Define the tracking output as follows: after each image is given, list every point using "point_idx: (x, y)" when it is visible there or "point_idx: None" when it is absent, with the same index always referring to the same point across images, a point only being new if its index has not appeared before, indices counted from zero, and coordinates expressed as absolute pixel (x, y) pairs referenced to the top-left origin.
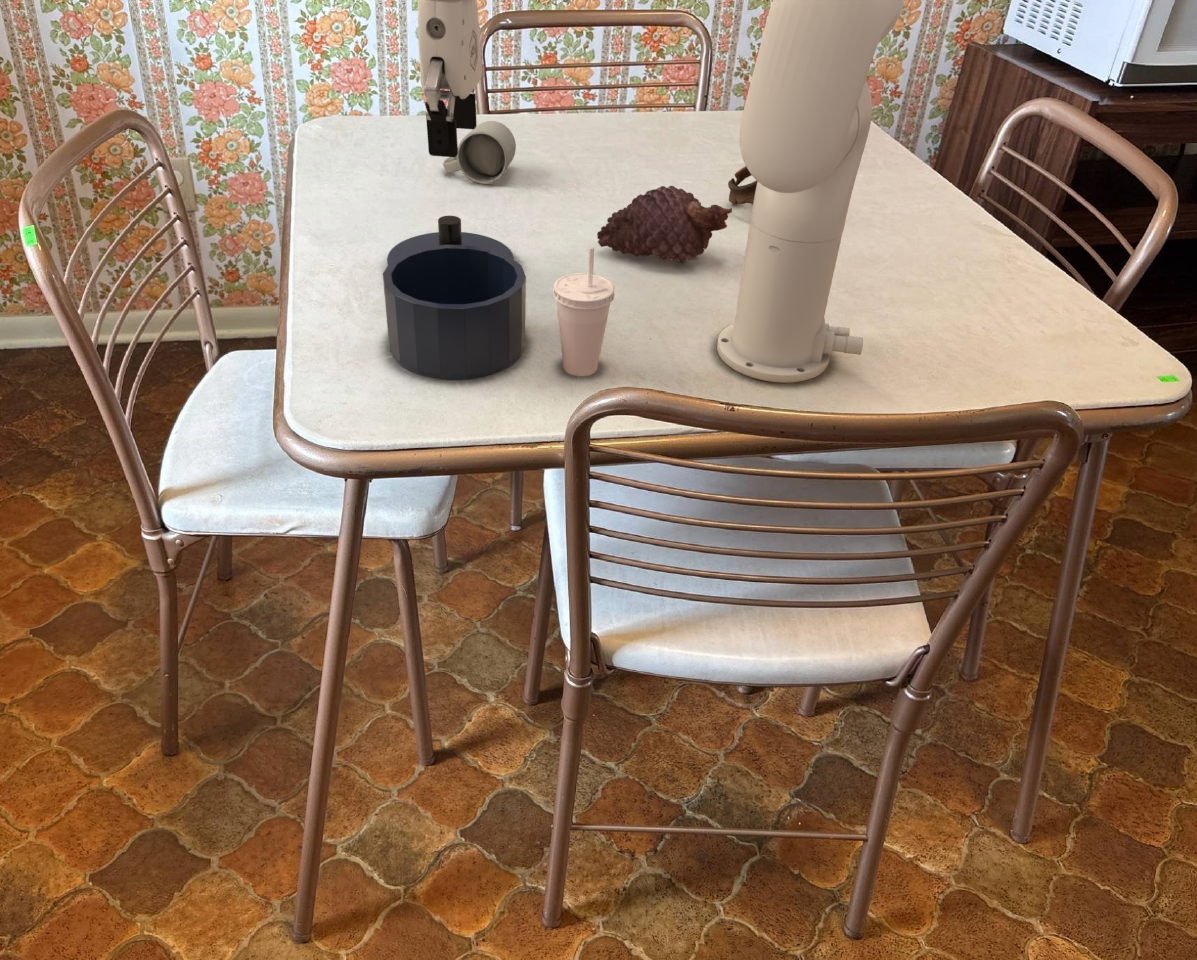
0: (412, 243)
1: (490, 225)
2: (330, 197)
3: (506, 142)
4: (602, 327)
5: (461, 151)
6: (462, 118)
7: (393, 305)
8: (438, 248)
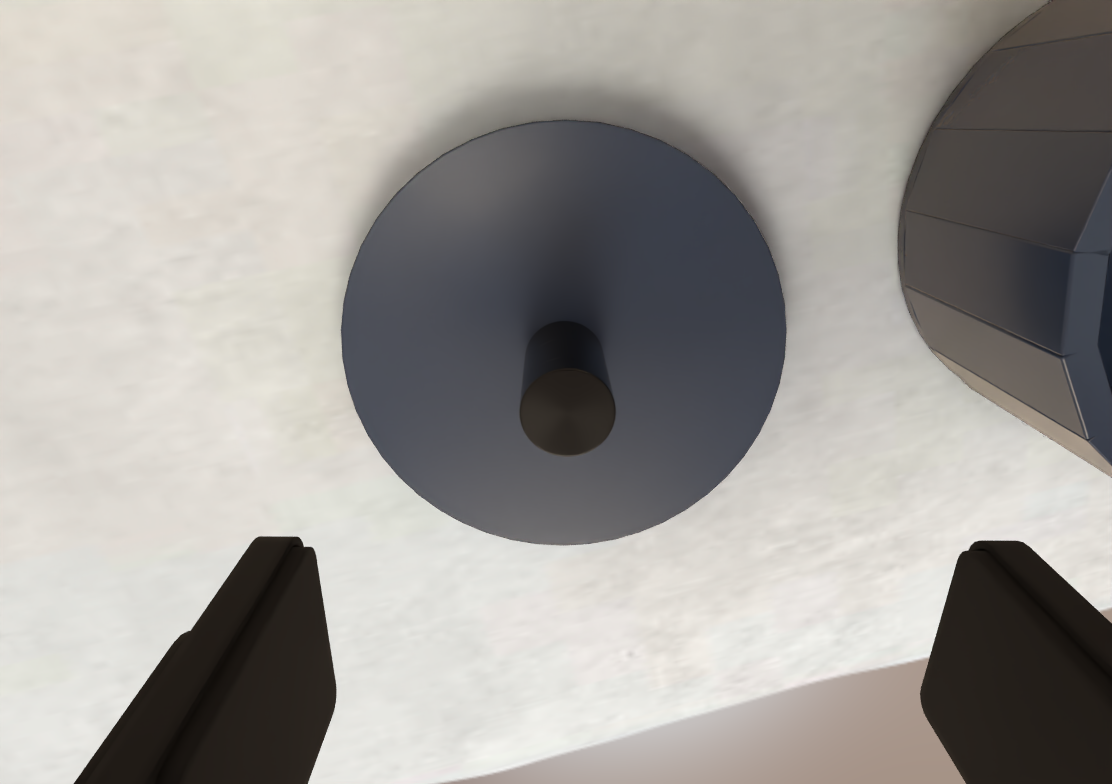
0: (485, 498)
1: (190, 285)
2: None
3: None
4: None
5: None
6: (294, 680)
7: None
8: (1103, 380)
